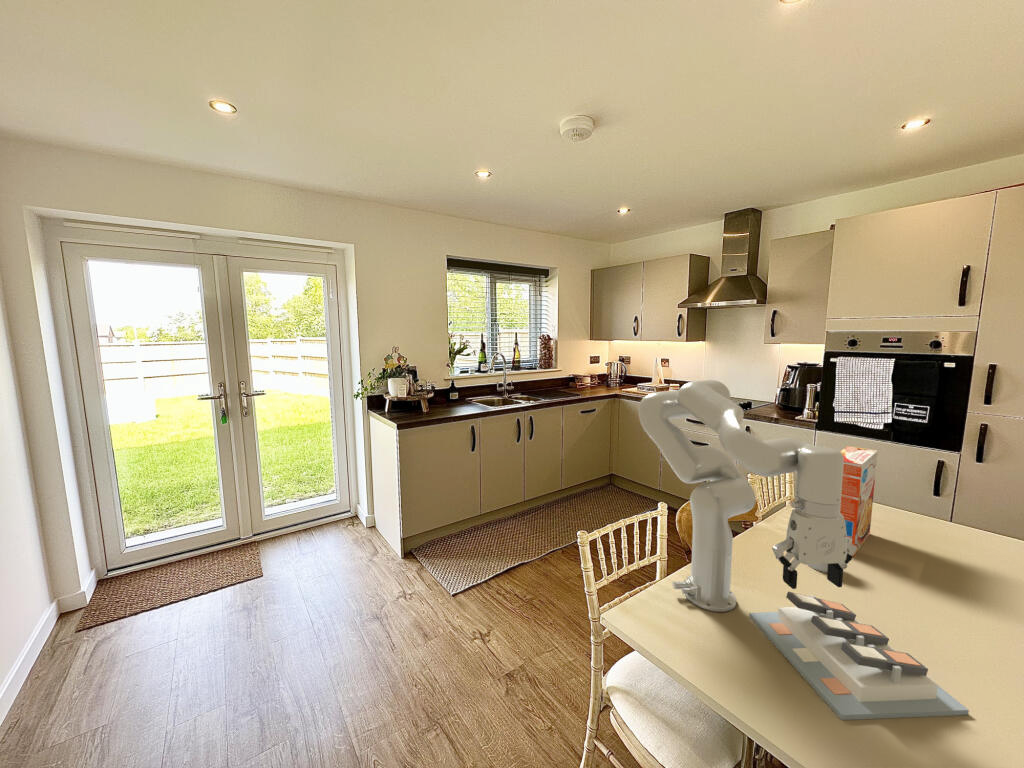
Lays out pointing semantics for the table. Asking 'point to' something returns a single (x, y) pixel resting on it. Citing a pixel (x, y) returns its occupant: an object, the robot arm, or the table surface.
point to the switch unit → (851, 671)
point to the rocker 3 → (883, 658)
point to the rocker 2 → (849, 630)
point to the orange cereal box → (858, 492)
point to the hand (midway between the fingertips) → (811, 584)
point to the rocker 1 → (820, 605)
